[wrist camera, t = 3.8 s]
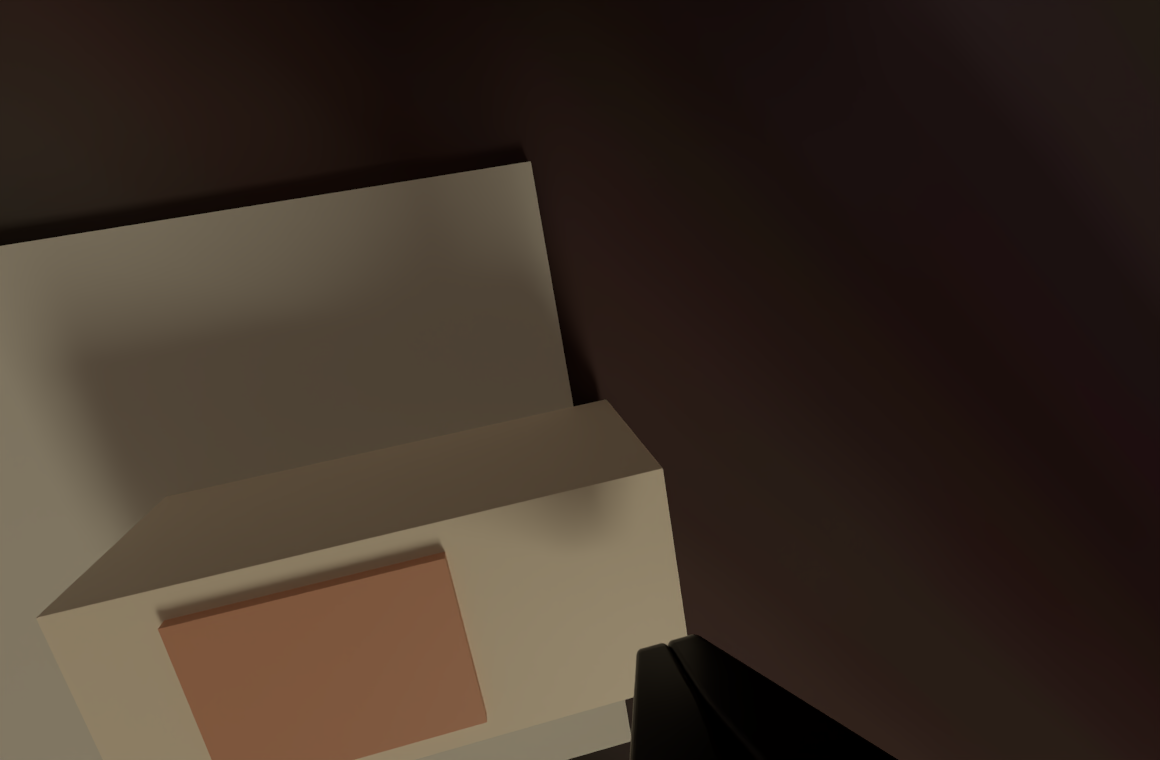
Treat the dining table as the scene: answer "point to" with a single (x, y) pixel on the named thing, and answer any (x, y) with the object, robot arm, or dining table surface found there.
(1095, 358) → the dining table surface
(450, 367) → the mat
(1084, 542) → the dining table surface
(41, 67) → the dining table surface
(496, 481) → the block
